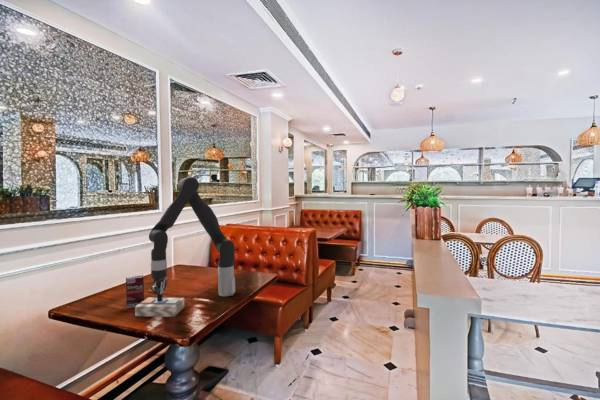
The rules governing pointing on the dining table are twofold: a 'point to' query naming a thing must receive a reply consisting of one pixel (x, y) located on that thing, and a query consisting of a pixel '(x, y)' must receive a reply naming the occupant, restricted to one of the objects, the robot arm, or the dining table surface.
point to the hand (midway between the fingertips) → (159, 300)
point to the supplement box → (134, 291)
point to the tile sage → (172, 301)
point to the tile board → (159, 308)
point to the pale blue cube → (160, 301)
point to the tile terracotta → (148, 301)
